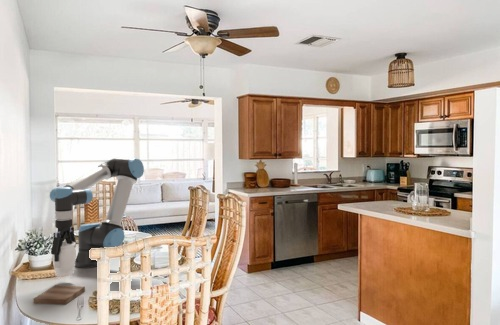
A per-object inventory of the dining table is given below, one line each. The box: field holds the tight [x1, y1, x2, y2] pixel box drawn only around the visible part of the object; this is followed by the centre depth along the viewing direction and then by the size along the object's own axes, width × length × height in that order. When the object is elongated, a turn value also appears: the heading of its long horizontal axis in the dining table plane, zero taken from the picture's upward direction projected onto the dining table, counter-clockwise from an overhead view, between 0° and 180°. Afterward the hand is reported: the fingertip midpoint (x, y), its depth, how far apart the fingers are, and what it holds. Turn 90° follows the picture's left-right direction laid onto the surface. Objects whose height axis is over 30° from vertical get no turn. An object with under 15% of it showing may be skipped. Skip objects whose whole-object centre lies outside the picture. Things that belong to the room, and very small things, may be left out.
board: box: [33, 284, 86, 305], centre depth 166 cm, size 16×14×2 cm
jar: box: [51, 241, 77, 278], centre depth 184 cm, size 11×10×15 cm
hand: (64, 264), depth 184 cm, fingers closed on jar, 10 cm apart
